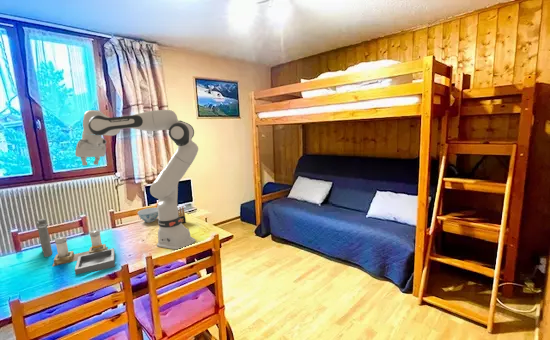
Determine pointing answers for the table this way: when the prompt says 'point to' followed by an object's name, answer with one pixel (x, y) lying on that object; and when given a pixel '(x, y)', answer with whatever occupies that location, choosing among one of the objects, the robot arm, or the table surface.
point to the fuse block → (75, 256)
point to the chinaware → (148, 214)
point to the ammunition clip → (182, 215)
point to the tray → (95, 261)
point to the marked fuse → (96, 240)
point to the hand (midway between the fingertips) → (90, 164)
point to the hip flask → (44, 237)
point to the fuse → (62, 247)
